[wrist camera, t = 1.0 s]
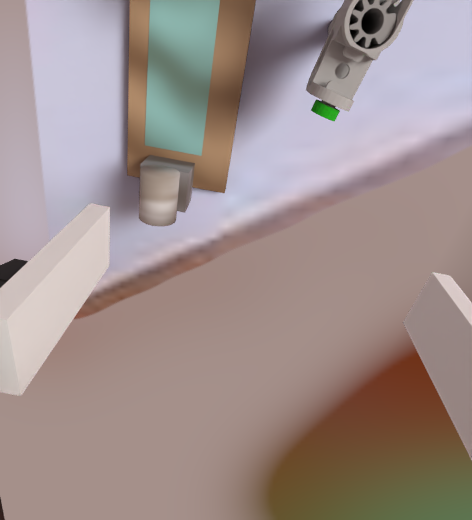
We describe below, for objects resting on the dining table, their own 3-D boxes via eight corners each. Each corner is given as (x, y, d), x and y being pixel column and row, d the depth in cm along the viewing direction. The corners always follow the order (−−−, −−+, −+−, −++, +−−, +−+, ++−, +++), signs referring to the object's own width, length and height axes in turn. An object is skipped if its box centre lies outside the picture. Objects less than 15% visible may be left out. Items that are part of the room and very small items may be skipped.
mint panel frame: (136, -157, 23) (92, -231, 17) (276, -128, 23) (281, -189, 17) (130, 187, 35) (102, 216, 28) (223, 204, 35) (215, 236, 29)
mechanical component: (290, 90, 29) (302, 107, 21) (357, -64, 24) (410, -125, 16) (322, 105, 30) (347, 128, 21) (395, -44, 25) (466, -92, 16)
